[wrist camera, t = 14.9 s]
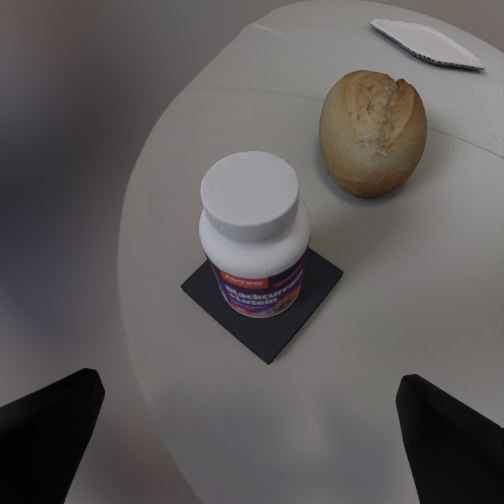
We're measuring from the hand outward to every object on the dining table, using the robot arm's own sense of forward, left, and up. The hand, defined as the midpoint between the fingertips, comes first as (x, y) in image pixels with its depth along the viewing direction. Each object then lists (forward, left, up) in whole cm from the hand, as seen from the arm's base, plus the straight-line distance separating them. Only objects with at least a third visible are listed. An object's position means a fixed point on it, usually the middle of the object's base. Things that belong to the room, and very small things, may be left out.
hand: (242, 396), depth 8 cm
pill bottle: (+6, +5, -10) cm, 13 cm away
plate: (+65, +11, -11) cm, 67 cm away
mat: (+6, +5, -11) cm, 14 cm away
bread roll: (+23, +6, -11) cm, 26 cm away
